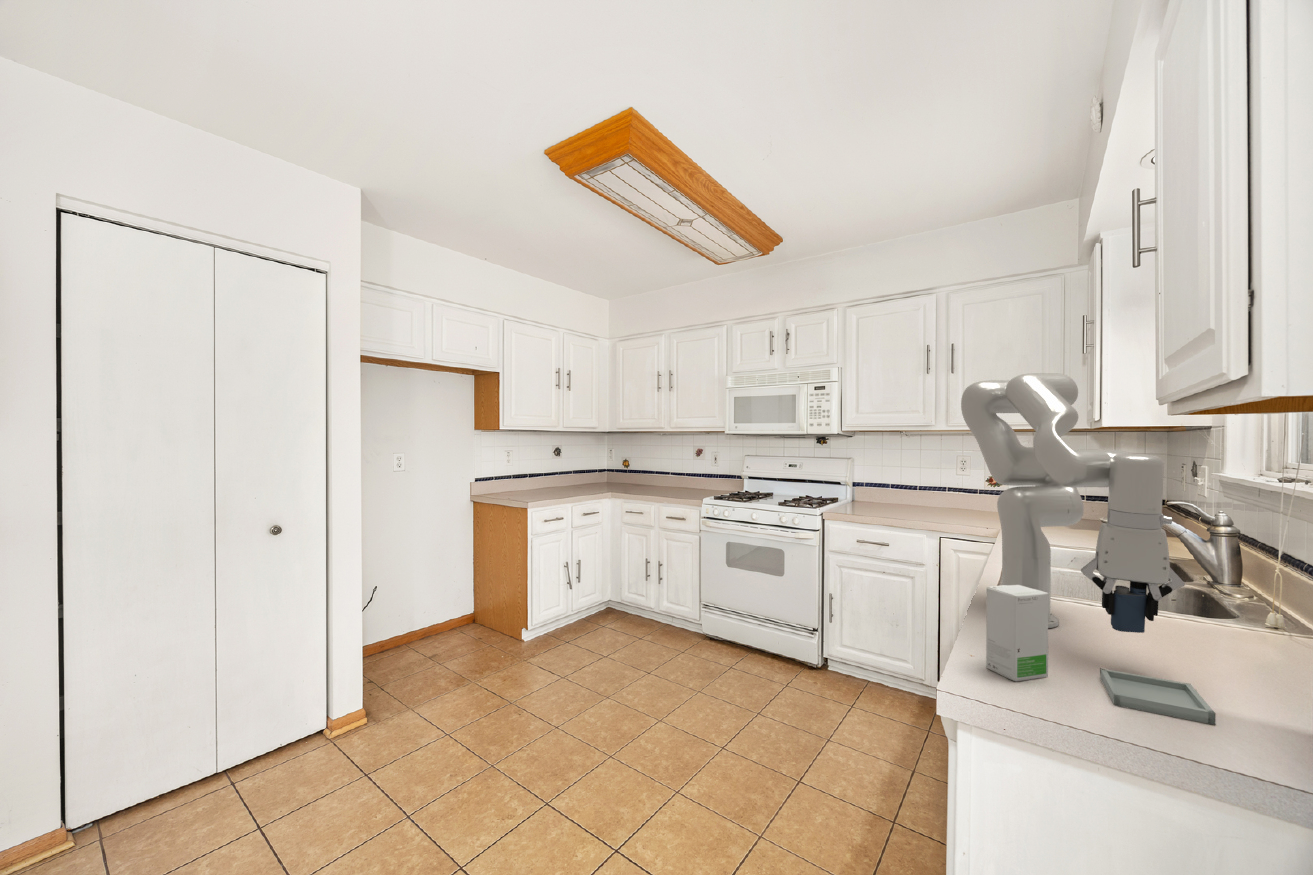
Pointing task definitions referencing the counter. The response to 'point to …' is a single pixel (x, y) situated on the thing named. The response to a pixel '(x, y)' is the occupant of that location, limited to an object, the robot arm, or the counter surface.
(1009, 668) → the skincare box
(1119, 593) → the vaping device
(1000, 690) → the counter surface
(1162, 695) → the tray
